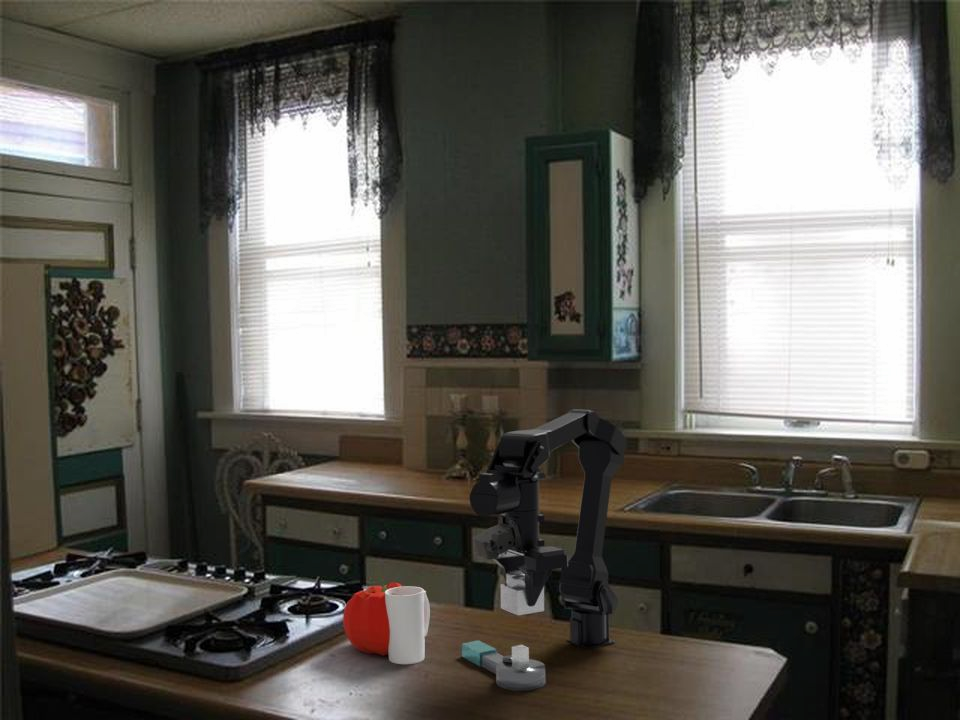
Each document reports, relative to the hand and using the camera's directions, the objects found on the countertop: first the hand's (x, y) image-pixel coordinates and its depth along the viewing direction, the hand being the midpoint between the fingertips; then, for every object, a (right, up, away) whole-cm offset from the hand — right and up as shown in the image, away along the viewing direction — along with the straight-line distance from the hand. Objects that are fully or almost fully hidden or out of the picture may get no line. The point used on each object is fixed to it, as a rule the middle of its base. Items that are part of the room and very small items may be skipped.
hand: (522, 602), depth 168 cm
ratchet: (-4, -12, +2) cm, 13 cm away
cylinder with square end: (0, -1, 0) cm, 1 cm away
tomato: (-24, -12, +13) cm, 30 cm away
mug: (-19, -12, +10) cm, 25 cm away
